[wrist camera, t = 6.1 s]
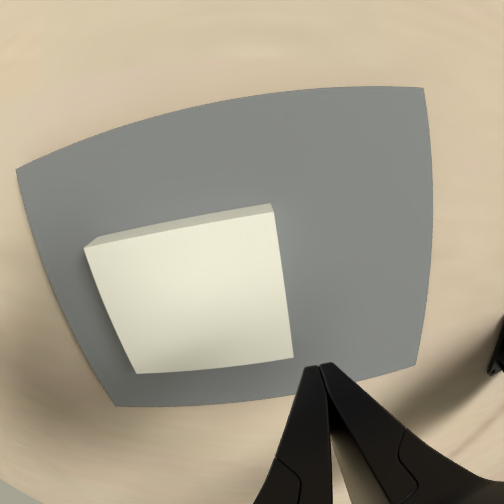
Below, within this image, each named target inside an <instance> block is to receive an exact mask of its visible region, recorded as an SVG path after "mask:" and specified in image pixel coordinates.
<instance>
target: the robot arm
mask: <svg viewBox="0 0 504 504" xmlns="http://www.w3.org/2000/svg"><path fill="white" fill-rule="evenodd" d="M501 370H502V371H503V372H504V325H503V329H502V332H501V335H500V338H499V341H498V344H497V347H496V349H495V352H494V355H493V358H492V360H491V363H490V365H489V368H488V370H487V373H488V374H489V376H492V375H494V374H496V373H498V372H500V371H501ZM405 428H406V427H405V426H404V425H403V424H402V423H401V422H400V421H398V420H397V419H396V418H395V417H394V416H393V415H392V414H390V413H389V412H388V411H387V410H386V409H385V408H384V407H382V406H381V405H380V404H379V403H378V402H377V401H376V400H374V399H373V398H372V397H371V396H370V395H369V394H368V393H367V392H365V391H364V390H363V389H362V388H361V387H360V386H359V385H358V384H356V383H355V382H354V381H353V380H352V379H351V378H350V377H349V376H348V375H346V374H345V373H344V372H343V371H342V370H341V369H340V368H339V367H338V366H336V365H335V364H334V363H333V362H327V363H322V364H319V366H318V365H312V366H306V367H304V369H303V372H302V375H301V378H300V382H299V385H298V388H297V392H296V395H295V398H294V401H293V404H292V408H291V411H290V414H289V417H288V420H287V423H286V426H285V429H284V432H283V435H282V438H281V441H280V444H279V446H278V449H277V452H276V455H275V458H274V460H273V463H272V465H271V468H270V470H269V473H268V475H267V478H266V480H265V482H264V484H263V486H262V488H261V490H260V492H259V494H258V496H257V497H256V499H255V501H254V503H253V504H333V491H332V460H331V442H332V445H333V448H334V451H335V454H336V457H337V460H338V463H339V466H340V469H341V472H342V475H343V478H344V482H345V485H346V488H347V491H348V494H349V497H350V500H351V503H352V504H504V482H501V481H492V480H488V479H484V478H482V477H479V476H477V475H475V474H473V473H472V472H470V471H468V470H467V469H465V468H463V467H462V466H460V465H458V464H457V463H455V462H453V461H452V460H450V459H448V458H447V457H445V456H443V455H442V454H440V453H439V452H437V451H436V450H434V449H433V448H431V447H430V446H428V445H427V444H426V443H425V442H423V441H422V440H421V439H420V438H418V437H417V436H416V435H415V434H414V433H412V432H411V431H410V430H409V429H408V428H406V429H405ZM330 439H331V440H330Z"/></svg>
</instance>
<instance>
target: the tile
mask: <svg viewBox="0 0 504 504" xmlns="http://www.w3.org/2000/svg"><path fill="white" fill-rule="evenodd" d="M84 251H85V254H86V257H87V260H88V263H89V266H90V269H91V271H92V274H93V277H94V279H95V282H96V285H97V287H98V290H99V292H100V295H101V298H102V300H103V302H104V305H105V307H106V310H107V312H108V314H109V317H110V319H111V321H112V324H113V326H114V328H115V330H116V333H117V335H118V337H119V339H120V341H121V343H122V346H123V348H124V350H125V352H126V354H127V356H128V358H129V360H130V362H131V364H132V366H133V368H134V370H135V372H136V374H144V373H164V372H180V371H193V370H204V369H214V368H224V367H232V366H241V365H248V364H256V363H263V362H269V361H276V360H282V359H288V358H294V356H293V347H292V339H291V331H290V324H289V316H288V308H287V301H286V293H285V286H284V279H283V271H282V264H281V257H280V250H279V243H278V237H277V230H276V223H275V217H274V211H273V209H272V206H271V203H268V204H262V205H256V206H250V207H244V208H238V209H232V210H227V211H221V212H216V213H210V214H205V215H199V216H194V217H189V218H184V219H179V220H174V221H168V222H164V223H159V224H154V225H149V226H144V227H139V228H135V229H130V230H125V231H121V232H116V233H112V234H107V235H103V236H99V237H97V238H96V239H94V240H93V241H92V242H90V243H89V244H88V245H87V246H86V247H84Z"/></svg>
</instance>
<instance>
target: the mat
mask: <svg viewBox="0 0 504 504" xmlns="http://www.w3.org/2000/svg"><path fill="white" fill-rule="evenodd" d="M16 173H17V178H18V182H19V187H20V191H21V195H22V199H23V203H24V206H25V210H26V214H27V217H28V221H29V224H30V227H31V231H32V234H33V237H34V240H35V243H36V246H37V249H38V252H39V255H40V258H41V260H42V263H43V266H44V268H45V271H46V274H47V276H48V279H49V281H50V284H51V286H52V289H53V291H54V293H55V296H56V298H57V300H58V303H59V305H60V307H61V309H62V312H63V314H64V316H65V318H66V320H67V322H68V324H69V326H70V328H71V330H72V332H73V334H74V336H75V338H76V340H77V342H78V344H79V346H80V348H81V350H82V352H83V354H84V355H85V357H86V359H87V361H88V363H89V364H90V366H91V368H92V370H93V371H94V373H95V375H96V376H97V378H98V380H99V381H100V383H101V385H102V386H103V388H104V390H105V391H106V393H107V394H108V396H109V397H110V399H111V401H112V402H113V404H114V405H115V406H121V407H177V406H198V405H213V404H225V403H236V402H245V401H254V400H262V399H269V398H276V397H283V396H289V395H295V394H296V392H297V388H298V385H299V382H300V378H301V375H302V372H303V369H304V367H306V366H312V365H318V366H319V364H322V363H327V362H333V363H334V364H335V365H336V366H338V367H339V368H340V369H341V370H342V371H343V372H344V373H345V374H346V375H348V376H349V377H350V378H351V379H352V380H353V381H354V382H358V381H362V380H366V379H369V378H373V377H377V376H381V375H384V374H388V373H391V372H395V371H398V370H401V369H405V368H408V367H411V366H414V365H415V364H416V360H417V355H418V350H419V345H420V340H421V334H422V328H423V322H424V316H425V309H426V302H427V294H428V285H429V275H430V264H431V250H432V229H433V179H432V158H431V145H430V134H429V124H428V116H427V108H426V101H425V94H424V88H418V87H391V86H362V87H334V88H318V89H306V90H295V91H286V92H277V93H270V94H262V95H255V96H249V97H243V98H237V99H231V100H225V101H220V102H215V103H210V104H205V105H201V106H196V107H192V108H187V109H183V110H179V111H175V112H171V113H167V114H163V115H159V116H156V117H152V118H148V119H145V120H142V121H138V122H135V123H132V124H128V125H125V126H122V127H119V128H116V129H113V130H110V131H107V132H104V133H101V134H98V135H95V136H93V137H90V138H87V139H85V140H82V141H79V142H77V143H74V144H72V145H69V146H67V147H64V148H62V149H59V150H57V151H55V152H52V153H50V154H48V155H45V156H43V157H41V158H39V159H36V160H34V161H32V162H30V163H28V164H26V165H24V166H22V167H20V168H17V169H16ZM268 203H271V206H272V209H273V211H274V217H275V223H276V230H277V237H278V243H279V250H280V257H281V264H282V271H283V279H284V286H285V293H286V301H287V308H288V316H289V324H290V331H291V339H292V347H293V356H294V358H288V359H282V360H276V361H269V362H263V363H256V364H248V365H241V366H232V367H224V368H214V369H204V370H193V371H180V372H164V373H144V374H136V372H135V370H134V368H133V366H132V364H131V362H130V360H129V358H128V356H127V354H126V352H125V350H124V348H123V346H122V343H121V341H120V339H119V337H118V335H117V333H116V330H115V328H114V326H113V324H112V321H111V319H110V317H109V314H108V312H107V310H106V307H105V305H104V302H103V300H102V298H101V295H100V292H99V290H98V287H97V285H96V282H95V279H94V277H93V274H92V271H91V269H90V266H89V263H88V260H87V257H86V254H85V251H84V247H86V246H87V245H88V244H89V243H90V242H92V241H93V240H94V239H96V238H97V237H99V236H103V235H107V234H112V233H116V232H121V231H125V230H130V229H135V228H139V227H144V226H149V225H154V224H159V223H164V222H168V221H174V220H179V219H184V218H189V217H194V216H199V215H205V214H210V213H216V212H221V211H227V210H232V209H238V208H244V207H250V206H256V205H262V204H268Z"/></svg>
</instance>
